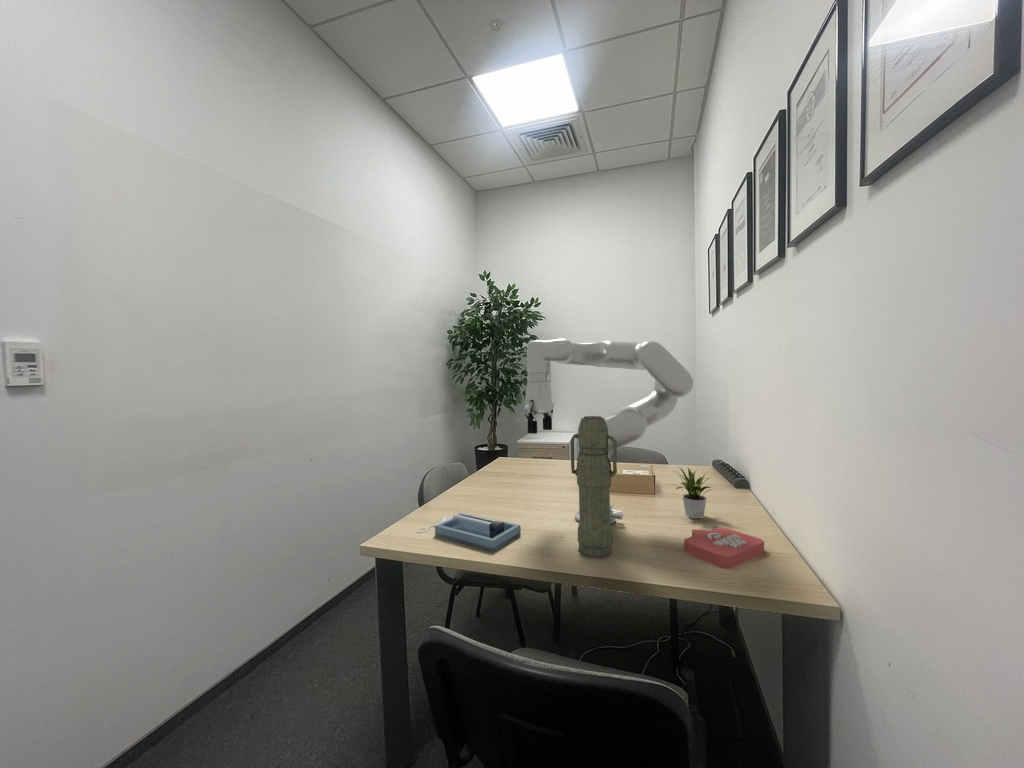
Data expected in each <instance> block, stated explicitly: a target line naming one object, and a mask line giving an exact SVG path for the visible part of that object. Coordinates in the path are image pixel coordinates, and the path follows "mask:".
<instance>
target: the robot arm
mask: <svg viewBox="0 0 1024 768" xmlns="http://www.w3.org/2000/svg"><path fill="white" fill-rule="evenodd" d="M526 359H527V363H526V364H527V384H526V388H525V389H526V390H525V404H524V405H525V406H524V408H523V410H524V413H525V417H526V421H527V433H528V434H534V435H535V434H536V435H537V434H538V420H537V418H538V415H543V416H542V430H543V431H552V430H553V413H554V407H555V405H554V403H553V402H552V401H553V398H552V397H553V395H552V386H551V383H552V382H551V381H552V375H551V374H552V373H551V372H552V371H551V370H552V369H551V366H552V365H551V362H556V363H557V364H562V365H577V366H590V367H591V366H593V367H597V368H607V369H608V368H611V369H623V370H624V369H627V370H636V371H637V370H639V371H646V372H647V373H648V374H649V375H650V376H651V377H652V378H653V380H655V381H654V386H653V390H652V391H651V393H650V394H649V395H647V396H646V397H643V398H642V399H640V400H637V401H636V402H632V403H630V404H627V405H625V406H623V407H620V408H617V409H616V410H615V411H614V412H612V413H611V415H610V416H608V417H606V418H604V419H605V422H606V424H607V428H608V434H609V435H612V436H614V438H615V439H616V440H617V450H618V449H621V448H623V447H625V446H627V445H630V444H632V443H635V442H636V441H638V440H640V439H641V438H642V437H643V436H644V434H645V433H646V430H647V429H648V428H649V427H650V426H653V425H654V424H656V423H658V422H661V421H662V420H664V419H666V418H667V417H668V416H669V415H670V414H671V413H673V411H674V409H675V407H677V403H678V400H679V398H683V397H686V396H687V395H688V394H690V393H691V391H692V390H693V388H694V380H693V377H692V375H691V373H690V372H689V370H687V369H686V368H685V366H683V365H682V364H681V362H679V361H678V360H677V359H676V358H675V357H674V356H673V355H672V353H671V352H670V351H669V350H667V348H666V347H664V346H663V345H662V344H661V343H659V342H657V341H654V340H648V341H644V342H635V341H634V342H631V341H629V342H628V341H619V340H617V341H616V340H602V341H597V342H590V343H589V342H584V343H583V342H572V341H571V340H569V339H567V338H556V339H550V340H539V339H537V340H530V341H528V343H527V344H526ZM577 444H578V453H579V452H580V451H579V439H577ZM607 452H608V457H609V458H610V453H611V452H613V442H612V441H611V439H608V447H607ZM574 517H575V518H574V519H575V520H576V521H577V522H578V523H580V516H579V511H577V512H575V514H574ZM623 519H624V514H623V512H622V511H621V510H615V509H614V505H613V504H610V524H613V523H615V522H616V520H623Z"/></svg>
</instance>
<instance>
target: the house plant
mask: <svg viewBox="0 0 1024 768" xmlns="http://www.w3.org/2000/svg"><path fill="white" fill-rule="evenodd" d="M676 467H677V468H678V469H680V471H681V473H682V474H681V473H679V472H678V471H674V470H673V473H677V475H679V476H680V477H681V478H682V479H681V480H682V482H681V483H680V484H681V486H679V485H677V484H675V483H674V485H675V486H677V487H675V491H676V490H679V489H682V491H683V492H685V494H683V495H682V496H681V497H682V501H683V508H684V512H685V516H686V515H687V516H689V517H692V518H702V517H703V518H704V516H705V510H706V503H707V497H706V496H704V494H705V493H707V492H709V491H711V489H712V488H713V487H712V486H703V485H704V484H705V482H706V481H708V480H709V479H710V478H711V477H713V476H715V475H717V473H715V474H712V475H710V476H709V477H707V478H706V479H705V480H704V478H705V476H706V474H707V472H705V473H703V476H701V477H700V476H699V478H697V479H695V474H696V472H697V470H698V469H697V468H698V467H696V469H695V471H694V472H693V471H692V470H690V467H689V466H687V471H688V472H687V473H688V476H687V474H686V473H685V471H684V470H683V468H681V467H679V466H678V465H677V466H676ZM703 480H704V481H703ZM702 481H703V482H702ZM702 486H703V487H702ZM710 488H711V489H710ZM684 489H686V491H687V492H688V493H687V492H686V491H685V490H684ZM706 489H708V490H706ZM705 490H706V491H705ZM703 491H704V492H703ZM701 493H703V494H702V495H701ZM687 516H686V517H687ZM689 517H688V518H689ZM692 518H691V519H692ZM703 518H702V519H703Z"/></svg>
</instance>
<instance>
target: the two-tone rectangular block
mask: <svg viewBox="0 0 1024 768" xmlns="http://www.w3.org/2000/svg"><path fill="white" fill-rule="evenodd" d="M467 513H468V512H462V511H460V512H458V513H456V514H452V517H453V528H454V529H458V530H462V531H465V532H469V533H473V534H477V535H481V536H485V537H489V538H494V537H496V536H497V535H499V534H501V533H503V532H504V522H505V521H504V522H503V520H500V519H495V520H494V518H491V517H486V518H485V516H482V515H477V516H476V514H473V513H468V514H467ZM457 514H458V515H457ZM472 514H473V515H472ZM481 516H482V517H481ZM490 518H491V519H490ZM499 520H500V521H499Z"/></svg>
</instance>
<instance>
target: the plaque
mask: <svg viewBox="0 0 1024 768" xmlns="http://www.w3.org/2000/svg"><path fill="white" fill-rule="evenodd" d="M684 552H685V553H686V554H688V555H690V556H693V557H695V558H698V559H700V560H703V561H705V562H707V563H710V564H713V565H715V566H717V567H721V568H723V569H730V568H733V567H734V568H735V567H736V566H738V565H741V564H744V563H745V562H747V561H749V560H752V559H754V558H756V557H758V556H761V555H762V554H764V553H765V541H764V540H763V539H762V538H760V537H757V536H753V535H750V534H747V533H743V532H740V531H738V530H735V529H731V528H728V527H722V526H719V527H715V528H713V529H710V530H709V529H697V528H696V529H692V530H691V536H689V537H686V538H684Z"/></svg>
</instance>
